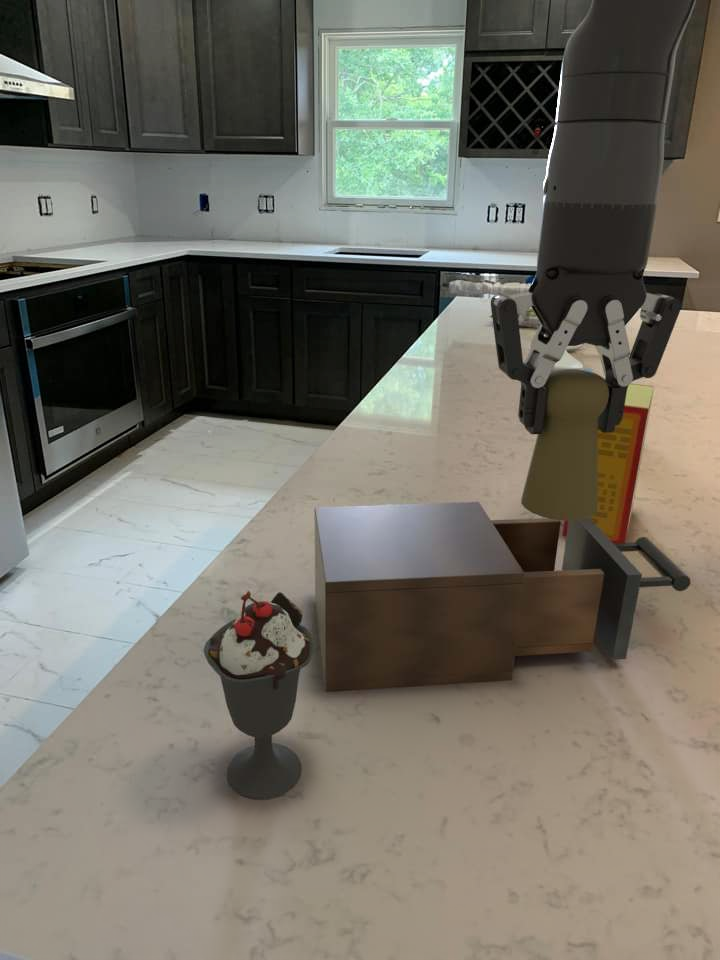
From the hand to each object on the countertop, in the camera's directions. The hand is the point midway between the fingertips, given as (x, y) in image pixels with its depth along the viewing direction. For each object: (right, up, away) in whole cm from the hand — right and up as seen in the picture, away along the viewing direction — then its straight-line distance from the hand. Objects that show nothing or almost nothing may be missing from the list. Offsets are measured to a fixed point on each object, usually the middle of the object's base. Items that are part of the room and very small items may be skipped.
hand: (568, 429), depth 57 cm
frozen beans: (+33, +37, +139) cm, 148 cm away
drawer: (+1, -16, +7) cm, 18 cm away
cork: (0, -6, +3) cm, 7 cm away
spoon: (+28, +22, +102) cm, 107 cm away
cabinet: (-12, -18, +6) cm, 22 cm away
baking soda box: (+11, -9, +27) cm, 31 cm away
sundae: (-23, -24, -8) cm, 34 cm away
